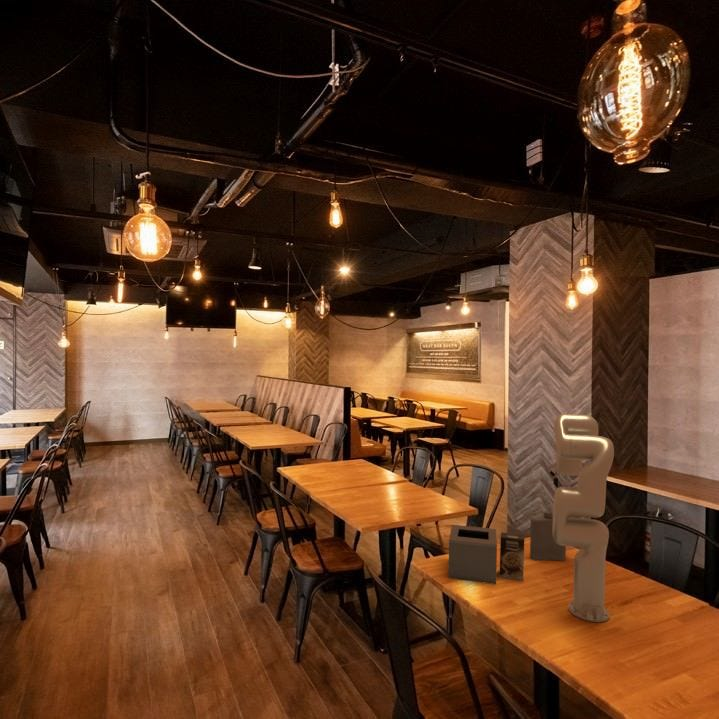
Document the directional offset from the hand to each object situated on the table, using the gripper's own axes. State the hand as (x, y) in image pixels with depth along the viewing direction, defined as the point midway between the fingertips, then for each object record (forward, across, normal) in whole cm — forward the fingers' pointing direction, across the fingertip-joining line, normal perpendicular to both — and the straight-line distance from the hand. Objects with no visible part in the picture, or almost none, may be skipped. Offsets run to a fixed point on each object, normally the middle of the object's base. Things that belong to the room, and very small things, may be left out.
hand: (568, 487), depth 209 cm
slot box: (+31, -39, -23) cm, 55 cm away
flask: (+32, -8, 0) cm, 32 cm away
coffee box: (+32, -24, -23) cm, 46 cm away
